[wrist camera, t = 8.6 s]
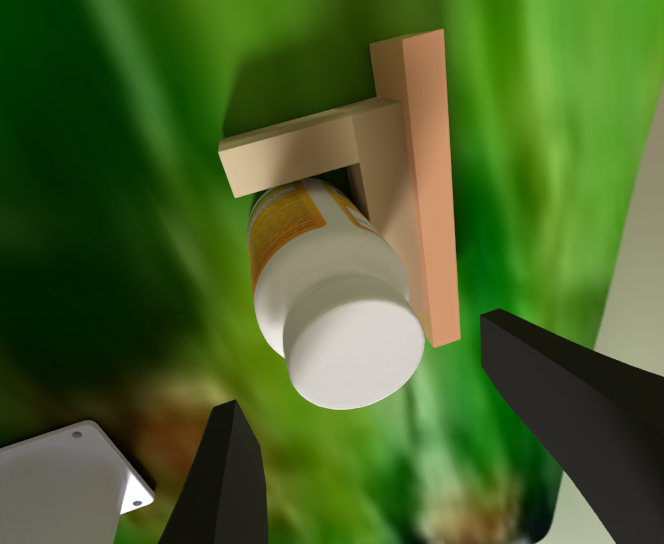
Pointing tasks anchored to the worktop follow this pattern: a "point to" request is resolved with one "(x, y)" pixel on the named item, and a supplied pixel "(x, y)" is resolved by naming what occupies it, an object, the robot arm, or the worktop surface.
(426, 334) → the rail
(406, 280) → the supplement bottle
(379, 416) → the worktop surface
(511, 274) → the worktop surface
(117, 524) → the robot arm
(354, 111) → the slot block
